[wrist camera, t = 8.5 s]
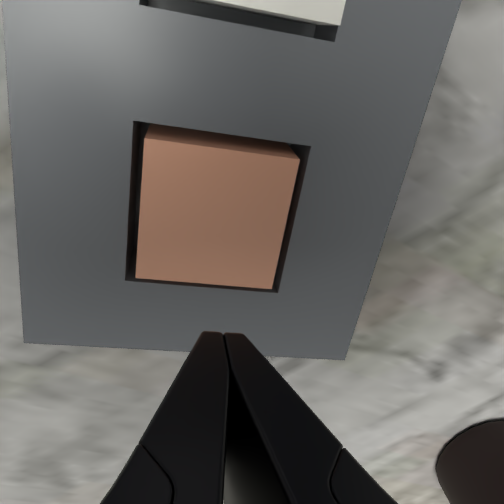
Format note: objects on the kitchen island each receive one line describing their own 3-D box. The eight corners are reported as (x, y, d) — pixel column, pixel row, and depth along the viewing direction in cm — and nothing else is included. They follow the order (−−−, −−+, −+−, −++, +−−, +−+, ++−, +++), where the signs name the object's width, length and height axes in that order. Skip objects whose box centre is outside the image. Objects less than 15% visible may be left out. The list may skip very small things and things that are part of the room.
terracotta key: (260, 253, 20) (271, 289, 17) (143, 241, 19) (135, 278, 16) (283, 138, 17) (299, 159, 15) (151, 119, 16) (144, 138, 14)
